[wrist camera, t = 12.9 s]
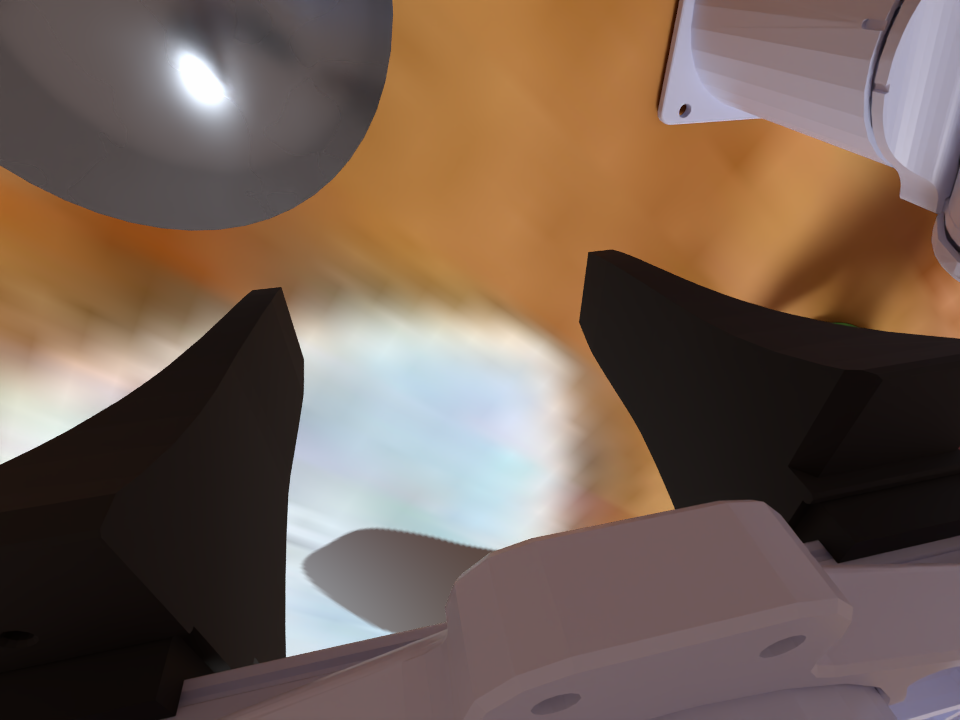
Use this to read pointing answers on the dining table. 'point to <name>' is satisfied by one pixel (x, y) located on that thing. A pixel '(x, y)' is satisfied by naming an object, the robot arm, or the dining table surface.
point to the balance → (188, 102)
